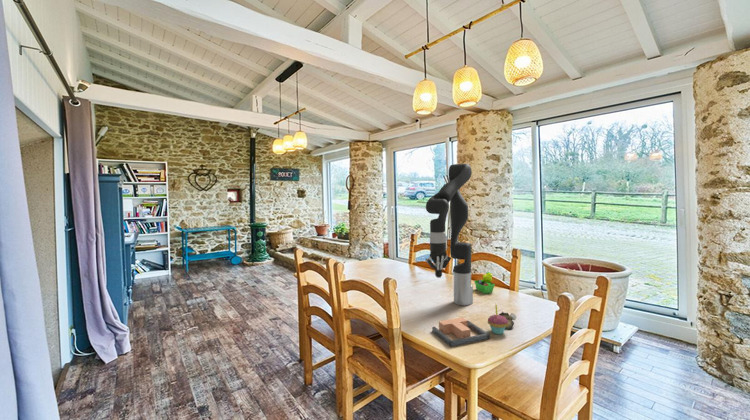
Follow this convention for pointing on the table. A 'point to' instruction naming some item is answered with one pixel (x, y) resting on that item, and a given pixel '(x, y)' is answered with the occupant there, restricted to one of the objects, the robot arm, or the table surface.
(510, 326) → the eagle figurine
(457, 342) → the rail bay
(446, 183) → the robot arm
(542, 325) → the table surface
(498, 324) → the cupcake
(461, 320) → the T-block
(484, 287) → the fruit basket
